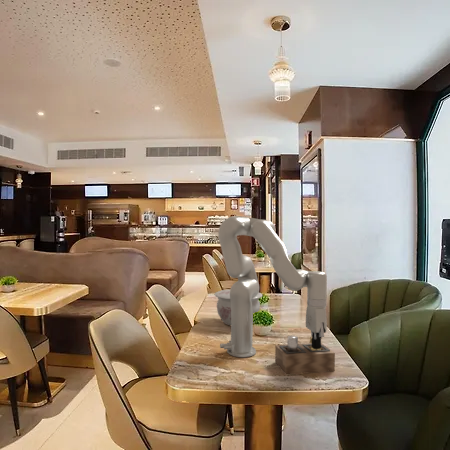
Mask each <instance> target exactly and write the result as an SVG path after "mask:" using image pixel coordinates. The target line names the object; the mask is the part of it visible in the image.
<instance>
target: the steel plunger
mask: <svg viewBox="0 0 450 450" xmlns="http://www.w3.org/2000/svg"><path fill="white" fill-rule="evenodd" d="M298 344H299V338H298V336H297V335H293V334H292V335H288V336H287V344H286V345H287V351H288V352H298Z"/></svg>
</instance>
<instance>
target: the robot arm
mask: <svg viewBox="0 0 450 450" xmlns="http://www.w3.org/2000/svg"><path fill="white" fill-rule="evenodd" d="M276 231H277V230H276V226H275V224H274V223H273V222H272V221H270V220H269V219H260V218H259V219H258V218H253V217H248V216H239V215H238V216H237V215H235V216H229V217H227V218H225V219H224V220H223V221H222V223H221V224H220V226H219V228H218V233H217V236H218V240H219V245H220V248H221V253H222V256H223V260H224V264H225V267H226V272H227V274H228V275H229V277H230V278H233V279H237V281H235V282H234V283H233V284H232V285H231V287H230V288H229V289H230V301H231V326H230V340H229V341H228V342H226V343H220V344H219V348H220V349H224V350H227V351H226V352H227V354H229V355H230V356H232V357H235V358H249V357H252V356H255V355H256V353H257V349H256V348H255V347H254V346H253V334H254V333H253V332H254V331H253V327H254V326H253V324H254V322H253V309H252V302H251V299H252V298H254V297H255V296H257V294H258V293H259V292H260V284H259V280H258V279H259V278H258V276H257V270H256V268H255V265H254V262H253V260H252V259H251V257H249V256H248V255H244V254H243V252H242V247H241V245H240V242H239V240H238V236H249V237H253V238H254V239H255V240H256V242H257V243H258V244H259V246H260V247H261V249H262V251H264V253H266V255H267V257H268V258H269V261H270V263H271V265H272V267H273V269H274V271H275V273H276V274H277V276H278V278H279V279H280V280H281V282H283V284H284V285H285V287H286V288H287V289H289V290H291V291H293V292H295V291H300V290H301V289H302V288H306V289H307V290H306V291H307V292H306V295H307V296H306V303H307V304H306V311H305V312H306V313H305V327H306V328H307V330H309V331H310V334H311V337H313V338H312V348H313V349H320V348H321V343H322V339H323V338H324V337H325V334H326V333H327V330H328V329H327V327H328V326H327V325H328V324H327V323H328V320H327V286H328V285H327V284H328V283H327V279H328V278H327V277H328V276H327V273H326V272H324V271H318V270H317V271H315V270H313V271H310V270H305V269H300V268H299V269H297V268H296V267H295V266H294V264H292V261H291V260H290V259H289V256H288V252H287V246H286V244H285V243H284V242H283V240H282V239H281V238H280V237H279V236H278V234H277V233H276ZM311 337H310V338H311Z"/></svg>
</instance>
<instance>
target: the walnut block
mask: <svg viewBox="0 0 450 450" xmlns="http://www.w3.org/2000/svg"><path fill="white" fill-rule="evenodd" d="M311 347H312V343H310V342H306V343H298V352H288V351H287V344H275V348H274V351H275V352H274V355H275V356H274V357H275V358H274V363H275V364H276V365H277V366H278V367H279V369H280V370H281V371H282V372H283V373H284V374H285V375H286V374H288V375H300V374H313V373H324V372H335V371H336V370H335V368H336V367H335V365H336V361H335V360H336V352H335V351H334V350H332V349H330V348H329V347H328V346H326V345H325V344H323V342H321V350H314V351H313V350H311Z"/></svg>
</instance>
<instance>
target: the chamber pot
mask: <svg viewBox="0 0 450 450" xmlns="http://www.w3.org/2000/svg"><path fill="white" fill-rule="evenodd" d="M230 289H231V288H228V289H227V288H226V289H221V290H219V291H216V292H214V296H215V297H216V298H217V299H218V300H217V302H216V309H217V315H218V316H219V318H220V320H221V321H222V322H223V323H224V324H225V325H227V326H230V325H231V301H230ZM262 297H263V293H261V292H260V291H259V293H258V294H257V296H255V297H254V298H252V299H251V302H252V309H253V313H255V312H258V311H259V312H260V308H261V304H260V301H259V299H260V298H262Z"/></svg>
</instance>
